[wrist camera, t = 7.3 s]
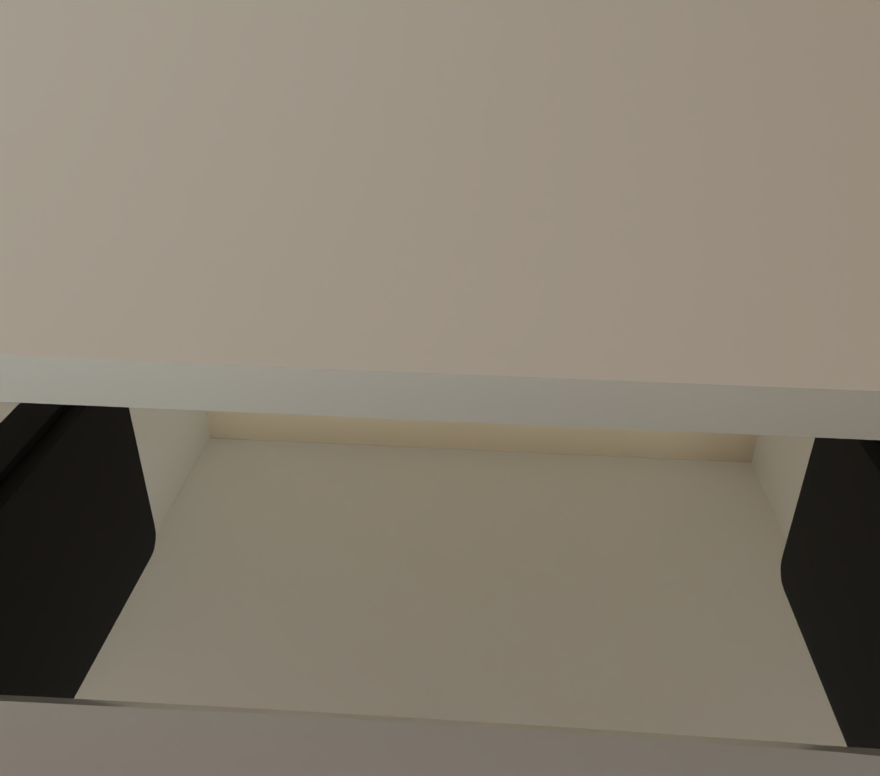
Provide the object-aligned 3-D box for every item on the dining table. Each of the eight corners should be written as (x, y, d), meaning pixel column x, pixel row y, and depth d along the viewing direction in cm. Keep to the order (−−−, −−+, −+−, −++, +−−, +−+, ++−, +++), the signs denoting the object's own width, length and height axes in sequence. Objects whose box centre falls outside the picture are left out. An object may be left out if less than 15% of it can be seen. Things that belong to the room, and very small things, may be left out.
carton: (912, -141, 20) (1346, -191, 10) (761, 467, 29) (901, 777, 19) (104, -146, 21) (-283, -195, 11) (201, 441, 30) (41, 721, 20)
